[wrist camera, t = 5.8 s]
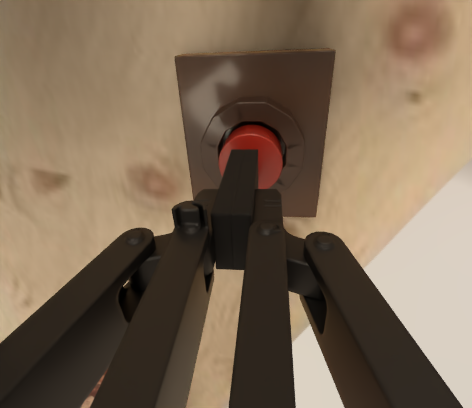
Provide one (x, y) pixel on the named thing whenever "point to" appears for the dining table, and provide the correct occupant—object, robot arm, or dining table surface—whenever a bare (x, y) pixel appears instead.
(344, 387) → the robot arm
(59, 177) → the dining table surface
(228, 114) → the switch box
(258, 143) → the lamp switch
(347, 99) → the dining table surface
